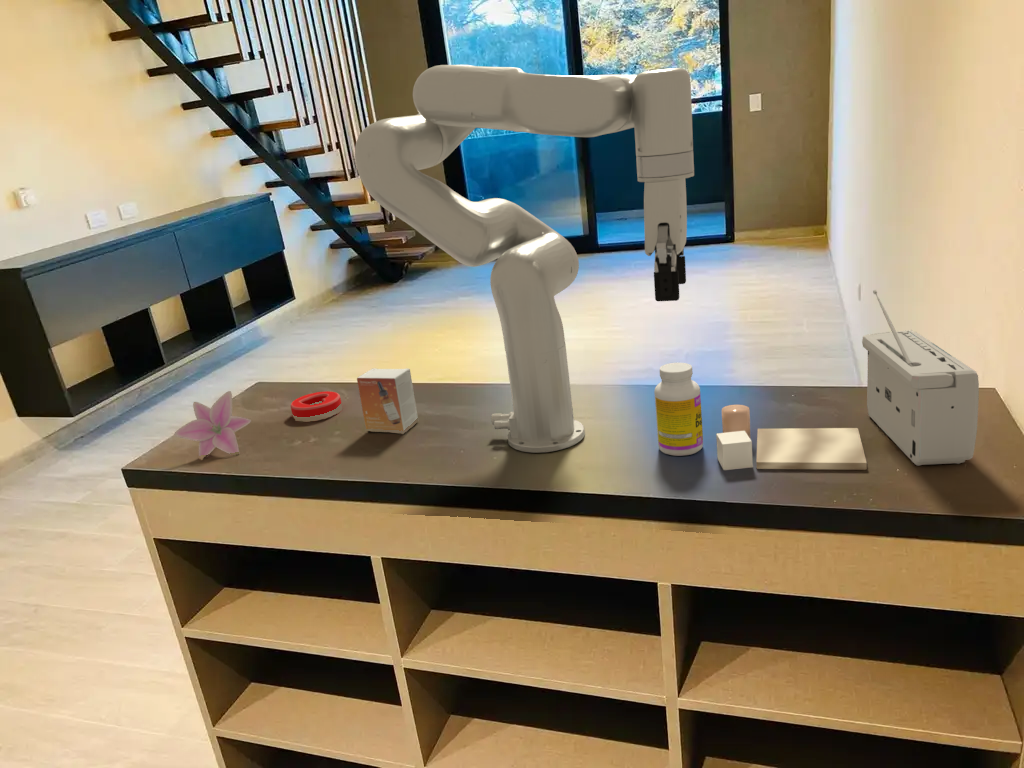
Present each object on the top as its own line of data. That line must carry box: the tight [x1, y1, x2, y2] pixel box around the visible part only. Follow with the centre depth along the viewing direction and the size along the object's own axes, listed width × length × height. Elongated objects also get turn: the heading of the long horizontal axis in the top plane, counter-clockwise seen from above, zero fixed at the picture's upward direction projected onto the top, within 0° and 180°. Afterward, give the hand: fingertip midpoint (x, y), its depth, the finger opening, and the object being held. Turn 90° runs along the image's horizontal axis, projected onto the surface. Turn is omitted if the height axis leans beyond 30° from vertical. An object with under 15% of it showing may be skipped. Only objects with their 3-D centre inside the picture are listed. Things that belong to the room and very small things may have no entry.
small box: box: [356, 368, 419, 431], centre depth 144 cm, size 8×6×10 cm
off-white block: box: [715, 431, 754, 471], centre depth 114 cm, size 4×4×4 cm
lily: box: [173, 390, 252, 457], centre depth 146 cm, size 12×12×10 cm
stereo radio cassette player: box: [861, 289, 980, 467], centre depth 112 cm, size 21×8×20 cm, turn 176°
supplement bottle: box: [653, 362, 704, 457], centre depth 120 cm, size 7×7×13 cm
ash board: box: [755, 427, 868, 471], centre depth 115 cm, size 14×12×1 cm
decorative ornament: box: [290, 390, 342, 417], centre depth 159 cm, size 10×10×3 cm
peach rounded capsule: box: [721, 404, 752, 440], centre depth 121 cm, size 4×4×5 cm
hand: (671, 291), depth 114 cm, fingers open, 9 cm apart
